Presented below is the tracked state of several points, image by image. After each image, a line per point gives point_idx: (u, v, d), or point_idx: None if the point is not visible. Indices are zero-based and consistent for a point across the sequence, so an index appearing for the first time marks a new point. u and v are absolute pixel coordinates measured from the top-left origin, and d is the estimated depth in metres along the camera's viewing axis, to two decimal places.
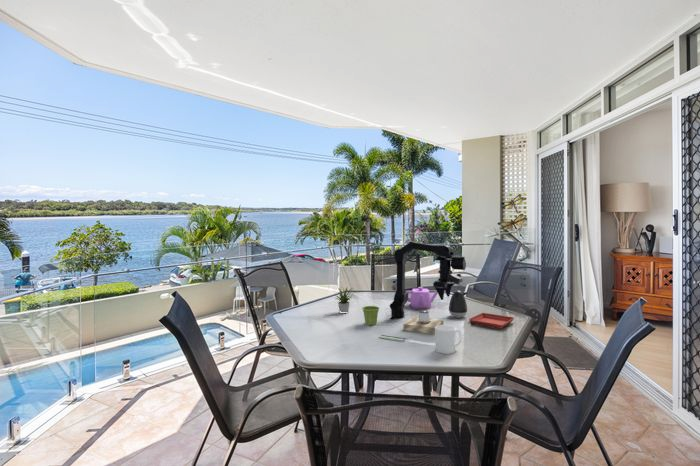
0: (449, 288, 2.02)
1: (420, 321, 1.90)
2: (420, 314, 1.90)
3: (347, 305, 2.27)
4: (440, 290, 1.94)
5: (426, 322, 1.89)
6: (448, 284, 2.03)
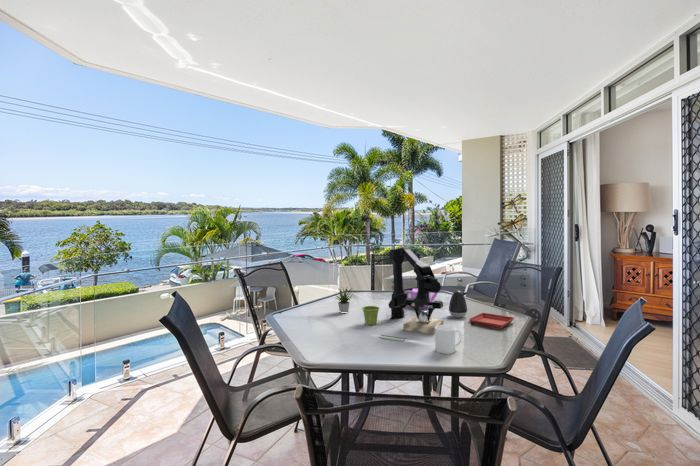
0: None
1: (420, 321, 1.90)
2: (420, 314, 1.90)
3: (347, 305, 2.27)
4: None
5: (426, 322, 1.89)
6: None
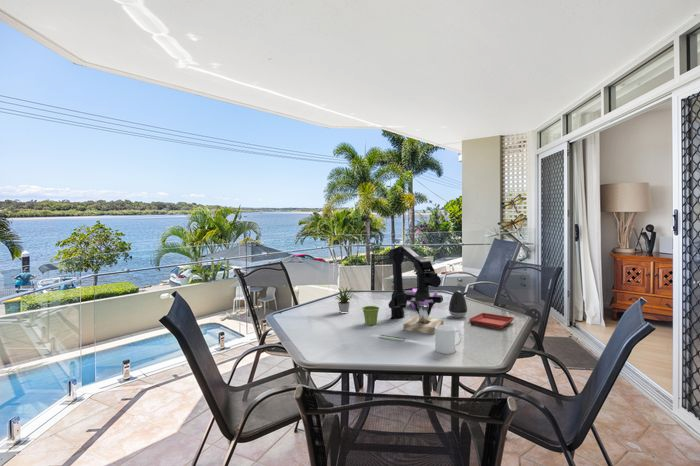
0: None
1: (420, 316, 1.90)
2: (420, 309, 1.90)
3: (347, 305, 2.27)
4: None
5: (426, 317, 1.89)
6: None
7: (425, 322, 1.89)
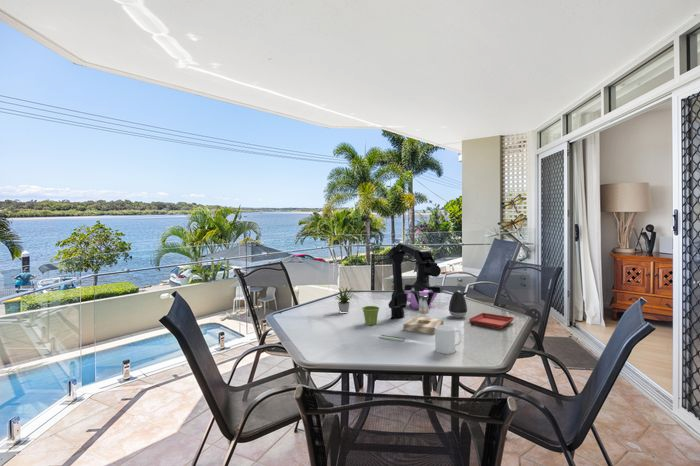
0: None
1: (420, 306, 1.90)
2: (420, 299, 1.90)
3: (347, 305, 2.27)
4: None
5: (426, 307, 1.89)
6: None
7: (425, 312, 1.89)
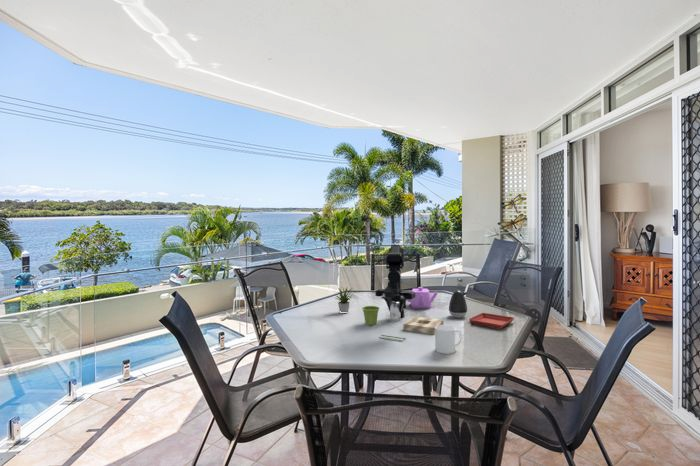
0: None
1: (391, 313, 1.80)
2: (391, 305, 1.80)
3: (347, 305, 2.27)
4: None
5: (397, 314, 1.80)
6: None
7: (396, 319, 1.80)
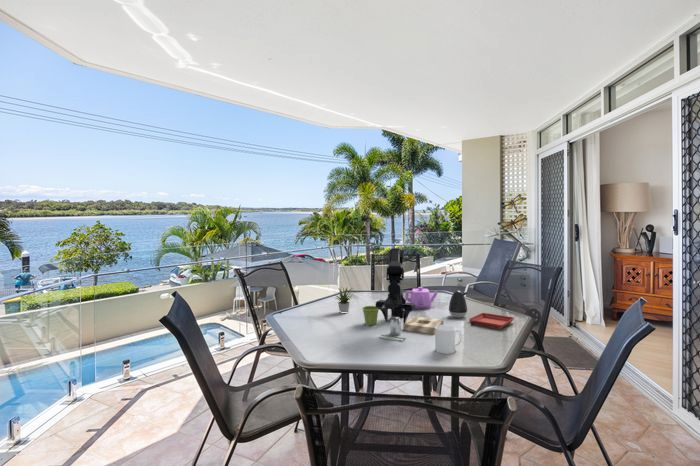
0: None
1: (391, 328, 1.81)
2: (391, 321, 1.81)
3: (347, 305, 2.27)
4: None
5: (397, 329, 1.80)
6: None
7: (396, 335, 1.80)
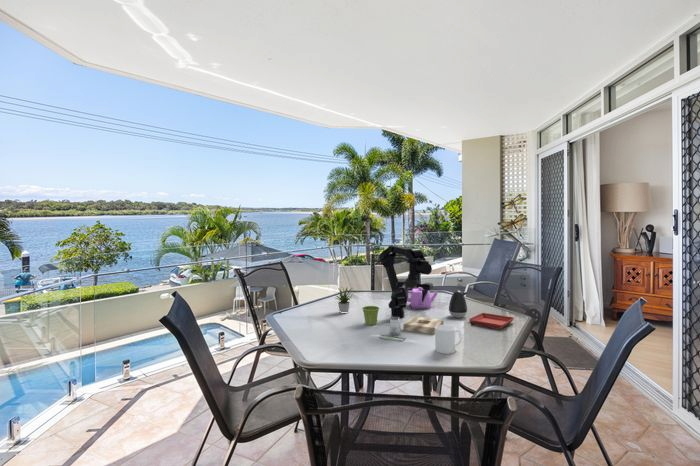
0: None
1: (391, 328, 1.81)
2: (391, 321, 1.80)
3: (347, 305, 2.27)
4: None
5: (397, 329, 1.80)
6: None
7: (396, 335, 1.80)
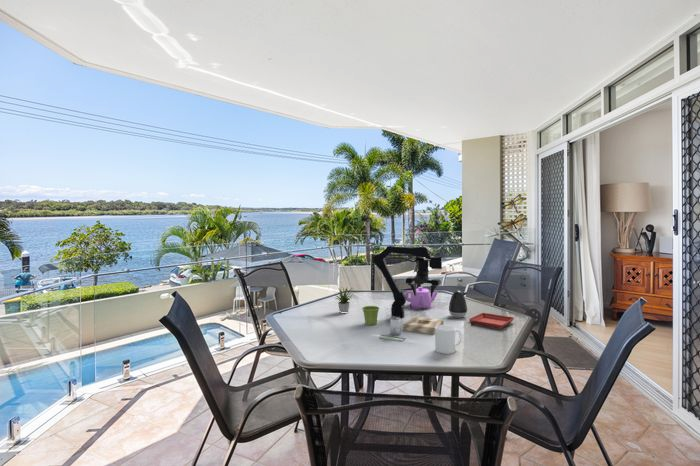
0: None
1: (391, 328, 1.81)
2: (392, 320, 1.80)
3: (347, 305, 2.27)
4: None
5: (398, 329, 1.80)
6: None
7: (396, 335, 1.80)
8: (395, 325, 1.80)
